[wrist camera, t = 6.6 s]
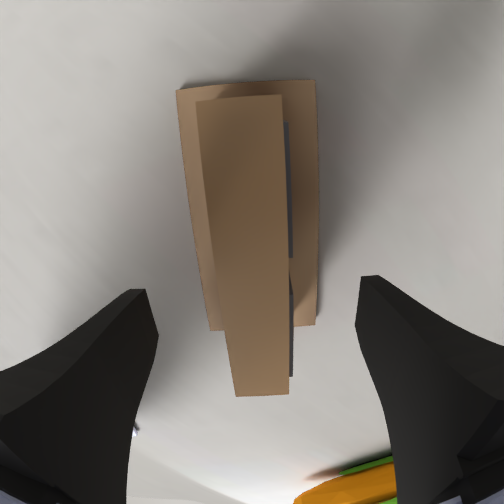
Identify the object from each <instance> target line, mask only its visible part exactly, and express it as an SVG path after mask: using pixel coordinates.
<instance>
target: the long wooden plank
mask: <svg viewBox="0 0 504 504" xmlns="http://www.w3.org/2000/svg"><path fill="white" fill-rule="evenodd" d="M195 105H196V116H197V126H198V136H199V145H200V154H201V163H202V172H203V181H204V189H205V197H206V205H207V213H208V221H209V229H210V236H211V244H212V251H213V258H214V265H215V272H216V279H217V286H218V293H219V299H220V306H221V312H222V318H223V325H224V331H225V337H226V343H227V349H228V355H229V361H230V367H231V373H232V378H233V384H234V389H235V395H236V397H242V396H268V395H285V394H289V377H292V376H293V289H292V284H291V278H290V273H289V258H293V225H292V191H291V165H290V143H289V124H288V122H287V121H285V120H283V112H282V96H281V94H280V95H259V96H244V97H232V98H222V99H212V100H203V101H196V102H195Z"/></svg>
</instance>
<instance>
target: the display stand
mask: <svg viewBox="0 0 504 504" xmlns="http://www.w3.org/2000/svg"><path fill="white" fill-rule="evenodd" d="M280 94H281V96H282V112H283V120H285V121H287V122H288V124H289V143H290V165H291V191H292V225H293V258H289V273H290V278H291V284H292V289H293V336H294V327H297V326H310V325H315V320H316V300H317V276H318V236H319V172H318V132H317V109H316V90H315V80H277V81H256V82H242V83H230V84H220V85H211V86H203V87H195V88H188V89H181V90H176V99H177V109H178V119H179V128H180V137H181V146H182V154H183V162H184V170H185V178H186V186H187V193H188V200H189V207H190V214H191V221H192V228H193V234H194V240H195V247H196V253H197V259H198V265H199V271H200V277H201V283H202V288H203V294H204V299H205V305H206V310H207V316H208V321H209V326H210V331H217V330H224V325H223V318H222V312H221V306H220V299H219V293H218V286H217V279H216V272H215V265H214V258H213V251H212V244H211V236H210V229H209V221H208V213H207V205H206V197H205V189H204V181H203V172H202V163H201V154H200V145H199V136H198V126H197V116H196V105H195V102H196V101H203V100H212V99H222V98H232V97H244V96H259V95H280Z"/></svg>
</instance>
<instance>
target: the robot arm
mask: <svg viewBox="0 0 504 504" xmlns="http://www.w3.org/2000/svg"><path fill="white" fill-rule="evenodd" d="M355 328H356V332H357V336H358V341H359V344H360V348H361V351H362V354H363V357H364V359H365V362H366V364H367V367H368V370H369V372H370V375H371V377H372V380H373V382H374V385H375V388H376V390H377V393H378V396H379V398H380V401H381V404H382V407H383V411H384V415H385V419H386V424H387V428H388V433H389V438H390V444H391V449H392V455H393V462H394V470H395V479H396V491H397V504H504V346H502V345H499V344H496V343H494V342H491V341H489V340H486V339H484V338H481V337H479V336H477V335H475V334H472V333H470V332H468V331H466V330H464V329H462V328H460V327H458V326H457V325H455V324H453V323H451V322H449V321H447V320H446V319H444V318H442V317H441V316H439V315H437V314H436V313H434V312H433V311H431V310H429V309H428V308H426V307H425V306H423V305H422V304H420V303H419V302H417V301H416V300H414V299H413V298H412V297H410V296H409V295H407V294H406V293H404V292H403V291H402V290H400V289H399V288H397V287H396V286H394V285H393V284H391V283H390V282H389V281H387V280H385V279H384V278H382V277H381V276H379V275H373V276H361V281H360V290H359V298H358V306H357V313H356V320H355ZM158 337H159V334H158V331H157V328H156V324H155V321H154V318H153V314H152V311H151V307H150V304H149V300H148V297H147V293H146V290H145V289H129V290H127V291H126V292H124V293H123V294H121V295H120V296H119V297H117V298H116V299H115V300H113V301H112V302H111V303H109V304H108V305H107V306H106V307H104V308H103V309H102V310H100V311H99V312H98V313H97V314H95V315H94V316H93V317H92V318H90V319H89V320H88V321H86V322H85V323H84V324H82V325H81V326H80V327H78V328H77V329H75V330H74V331H73V332H71V333H70V334H69V335H67V336H66V337H64V338H63V339H61V340H60V341H58V342H57V343H55V344H54V345H52V346H50V347H49V348H47V349H46V350H44V351H42V352H40V353H39V354H37V355H35V356H33V357H31V358H29V359H27V360H25V361H23V362H21V363H19V364H17V365H15V366H12V367H10V368H8V369H5V370H3V371H0V504H126V488H127V473H128V462H129V454H130V446H131V439H132V436H137V433H138V432H137V431H136V429H135V427H134V422H135V418H136V414H137V410H138V407H139V404H140V401H141V398H142V395H143V392H144V389H145V386H146V383H147V380H148V377H149V374H150V371H151V368H152V365H153V362H154V358H155V353H156V348H157V343H158Z"/></svg>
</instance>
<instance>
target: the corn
mask: <svg viewBox="0 0 504 504" xmlns="http://www.w3.org/2000/svg"><path fill="white" fill-rule="evenodd" d="M339 474H343V476H340V477H337V478H334V479H332V480H329V481H326V482H324V483H322V484H320V485H318V486H316V487H314V488H312V489H310V490H308V491H306V492H304V493H302V494H301V495H299V496H298V497H297V498H296V499H295V500H294V503H293V504H397V491H396V479H395V470H394V462H393V455H392V456H389V457H386V458H383V459H380V460H376V461H373V462H370V463H366V464H363V465H359V466H356V467H353V468H350V469H347V470H344V471H341V472H339Z"/></svg>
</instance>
